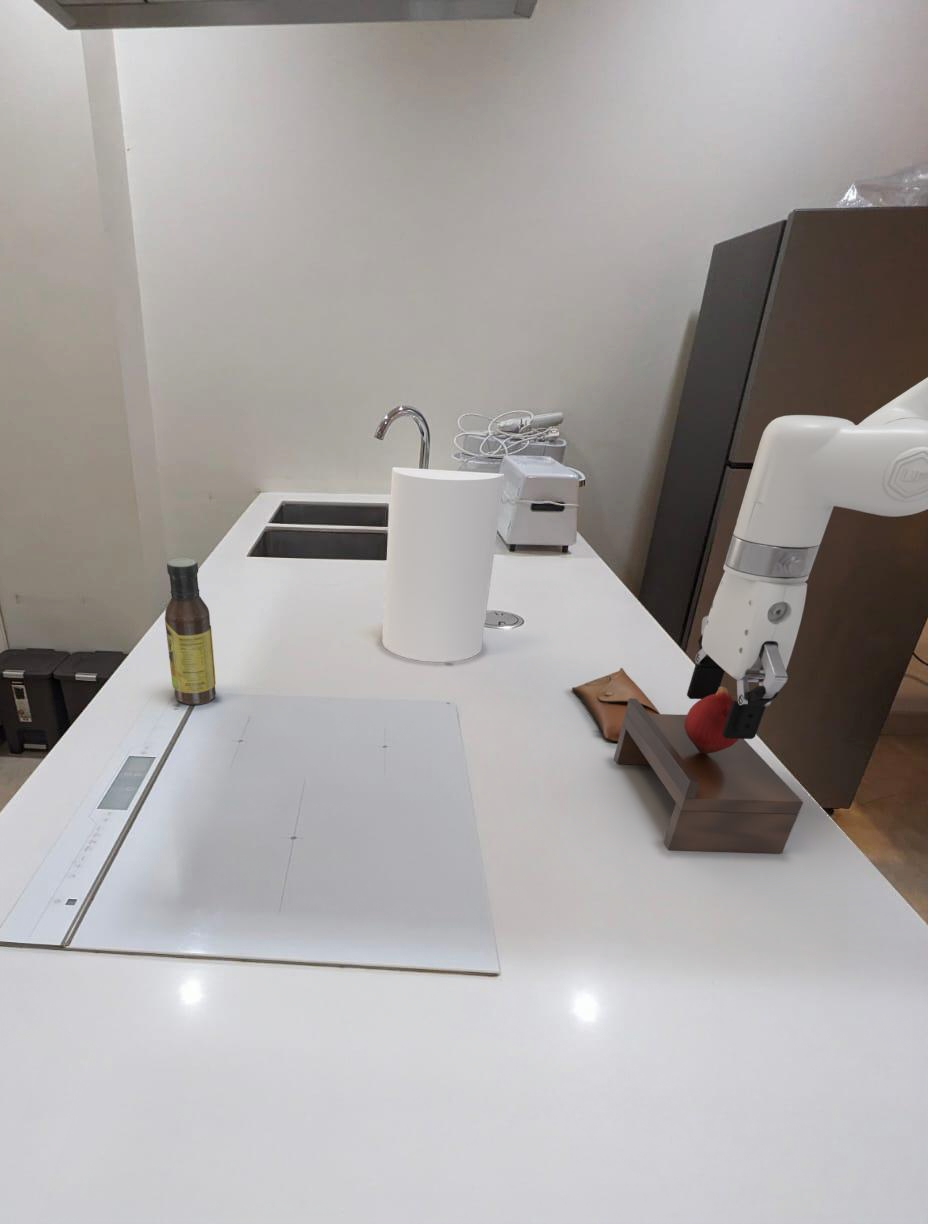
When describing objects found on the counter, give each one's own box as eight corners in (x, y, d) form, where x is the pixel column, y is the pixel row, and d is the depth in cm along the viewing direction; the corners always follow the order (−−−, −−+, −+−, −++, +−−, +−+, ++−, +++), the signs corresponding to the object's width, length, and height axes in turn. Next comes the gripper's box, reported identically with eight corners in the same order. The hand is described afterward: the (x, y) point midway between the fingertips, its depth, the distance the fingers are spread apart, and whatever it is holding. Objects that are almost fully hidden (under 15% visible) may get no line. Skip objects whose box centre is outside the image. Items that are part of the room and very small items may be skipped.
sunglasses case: (567, 685, 115) (597, 650, 112) (601, 707, 117) (631, 673, 114) (605, 740, 99) (641, 701, 96) (644, 764, 102) (680, 727, 99)
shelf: (707, 761, 96) (727, 700, 92) (781, 853, 79) (810, 785, 75) (613, 758, 97) (628, 698, 92) (668, 850, 80) (690, 781, 75)
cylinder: (475, 667, 122) (499, 483, 107) (372, 655, 126) (381, 475, 111) (486, 632, 136) (508, 465, 121) (393, 622, 140) (403, 459, 125)
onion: (735, 749, 85) (758, 684, 81) (729, 770, 81) (753, 703, 77) (681, 736, 88) (700, 673, 84) (672, 756, 84) (692, 690, 79)
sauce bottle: (182, 687, 113) (169, 552, 103) (221, 690, 112) (213, 555, 102) (167, 704, 108) (151, 565, 97) (208, 708, 107) (198, 568, 96)
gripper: (858, 584, 66) (791, 756, 75) (767, 538, 80) (720, 685, 89) (772, 583, 66) (715, 754, 75) (696, 536, 80) (656, 684, 89)
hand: (718, 716), depth 82 cm, fingers open, 9 cm apart
